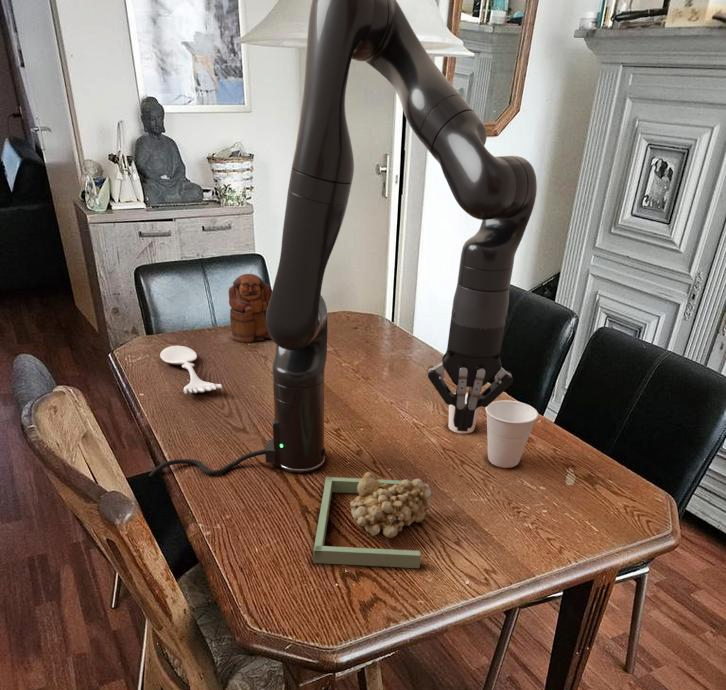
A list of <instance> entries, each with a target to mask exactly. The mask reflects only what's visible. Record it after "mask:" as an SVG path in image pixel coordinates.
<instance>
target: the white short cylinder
mask: <svg viewBox="0 0 726 690" xmlns="http://www.w3.org/2000/svg"><path fill="white" fill-rule="evenodd" d="M452 393H453V394H456V392H452ZM467 396H468V392H467V391H466V396H465V404H467ZM480 408H481V407H478V408H477V409H476V410H475V413H474V419H473V425H472V427H471V428H468V430H467V432H466V431H458V430H457V427H455V426H454V421H453V419H454V412H455V406H453V405H448V424H447V425H448V429H449V430H450V431H452V432H454V433H456V434H465V435H466V434H471V433H473V432H474V430H476V429H475V428H476V424H477V420H478V416H479V412H480Z"/></svg>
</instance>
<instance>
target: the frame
mask: <svg viewBox="0 0 726 690" xmlns="http://www.w3.org/2000/svg"><path fill="white" fill-rule="evenodd" d="M361 479H362V478H357V477H333V476H326V477H325V480H324V487H323V493H322V498H321V503H320V511H319V515H318V521H317V528H316V533H315V539H314V546H313V564H327V565H329V564H330V565H348V566H363V567H367V566H368V567H385V568H386V567H387V568H406V569H407V568H408V569H420V566H421V556H422V555H421V554H422V553H421V550H411V549H410V550H409V549H391V548H389V549H388V548H373V547H372V548H371V547H370V548H369V547H351V546H350V547H349V546H334V545H333V546H329V545H325V542H326V535H327V528H328V522H329V516H330V509H331V501H332V497H333V495H332V494H333V493H343V494H359V493H358V491H357V486H358V484H359V482H360V480H361ZM377 481H379V482H381V483H382V484H388V485H389V486H390V487H392V486H393V485H395V484H396V485H399V484H401V482H402V480H399V479H397V480H396V479H378V478H377ZM412 481H413V480H410V482H412Z"/></svg>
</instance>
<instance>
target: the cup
mask: <svg viewBox="0 0 726 690" xmlns="http://www.w3.org/2000/svg"><path fill="white" fill-rule="evenodd" d="M485 413H486V431H487V432H486V436H487V460H488V462H490V464H492V465H493V466H496V467H498V468H503V469H510V468H514V467H516V466H517V465H518V464H519V463H520V461H521V458H522V456H523V453H524V451H525V448H526V446H527V444H528V440H529V438H530V436H531V433H532V431H533V428H534V426H535V423H536V420H538V418H539V412H538V410H537V409H536V408H534V407H533V406H531V405H530V404H528V403H525V402H522V401H516V400H507V399H505V400H503V399H501V400H494V401H493V402H491V403H490V404H489V405H488V406H487V407H485Z"/></svg>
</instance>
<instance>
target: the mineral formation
mask: <svg viewBox="0 0 726 690" xmlns="http://www.w3.org/2000/svg"><path fill="white" fill-rule="evenodd" d="M360 479H361V480H360V482H359V484H358V486H357V491H358V493H357V494H358V496H355V498H354V499H353V500H351V501H350V503H349V504H350V505H349V506H350V508H351V509H350V510H351V517H352V518H353V519H354V523H356V524H357V525H358V526H360V527H364V529H365V531H366V532H367V534H370V535H371V536H372V537H375V536H376V535H379V533H380V532H381V530H382V534H383V536H384V537H386V538H389V539H393V538H394V537H396V536H397V535H398V534H399V532H402V530H403V527H404V526H409V527H410V526H411V524H412V523H413V524H414V522H415V523H418V524H420V523H421V522H422V521H424V519H425V517H426V515H427V512H426V511H427V510H429V509H431V507H432V506H433V505H432V502H430V498H432V496H433V495H432V492H431V489H430V484H428V483H424V482H423V480H421V479H419V478H415V479H414V478H413V480H410V479H401V481H402V482H401V484H399V485H396V484H395V485H393V486H392V487H390V486H389V485H388V484H382V483H381V482H379V481H377V479H378V476H377V475H376V474H374V473H372V472H370V471H368V472H365V473H364V474H363V475H362V477H361V478H360ZM410 481H412V482H410Z"/></svg>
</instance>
